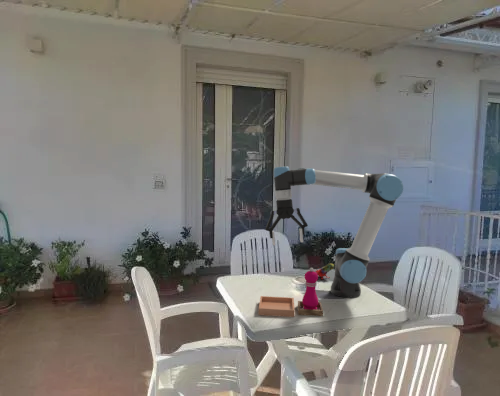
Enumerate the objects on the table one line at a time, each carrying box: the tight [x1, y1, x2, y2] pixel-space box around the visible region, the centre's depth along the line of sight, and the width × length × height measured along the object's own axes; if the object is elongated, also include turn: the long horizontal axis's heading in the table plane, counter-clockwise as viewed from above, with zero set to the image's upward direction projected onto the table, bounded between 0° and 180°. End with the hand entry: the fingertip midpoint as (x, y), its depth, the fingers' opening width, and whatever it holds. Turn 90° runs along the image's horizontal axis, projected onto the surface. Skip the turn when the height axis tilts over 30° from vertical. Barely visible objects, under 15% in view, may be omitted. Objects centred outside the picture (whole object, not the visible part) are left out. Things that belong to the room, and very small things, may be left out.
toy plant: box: [314, 262, 335, 280], centre depth 227 cm, size 8×10×12 cm
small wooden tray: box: [297, 300, 324, 317], centre depth 178 cm, size 11×11×2 cm
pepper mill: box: [301, 267, 319, 310], centre depth 177 cm, size 7×7×20 cm
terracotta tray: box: [257, 295, 295, 318], centre depth 179 cm, size 16×16×3 cm
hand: (287, 243), depth 188 cm, fingers open, 13 cm apart
